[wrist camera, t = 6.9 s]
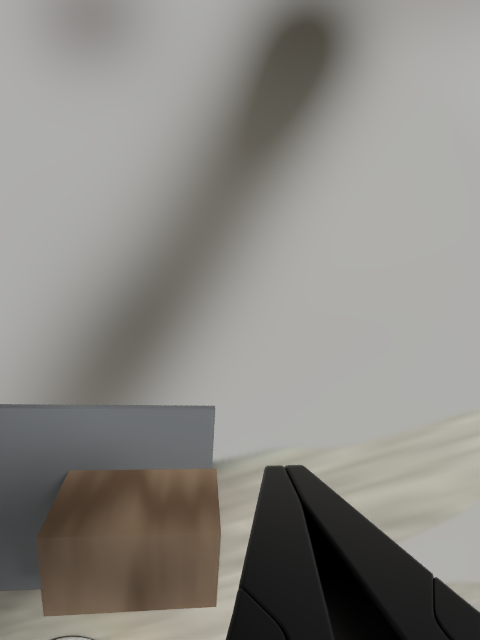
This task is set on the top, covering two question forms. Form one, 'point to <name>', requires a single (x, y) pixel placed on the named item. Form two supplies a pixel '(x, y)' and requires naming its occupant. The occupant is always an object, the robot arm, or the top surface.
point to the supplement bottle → (73, 638)
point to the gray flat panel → (82, 462)
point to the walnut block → (131, 542)
